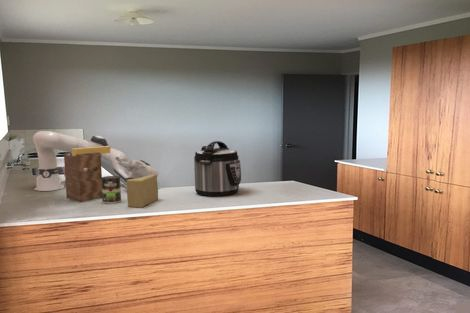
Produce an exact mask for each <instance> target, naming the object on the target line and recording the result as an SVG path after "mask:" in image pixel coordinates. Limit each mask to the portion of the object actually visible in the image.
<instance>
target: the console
mask: <svg viewBox="0 0 470 313" xmlns="http://www.w3.org/2000/svg"><path fill="white" fill-rule="evenodd" d="M63 162H64V164H63V165H64V166H65V176H64V178H65V179H64V180H65V194H66V199H68V198H69V200H71V201H76V202H78V201H79V203H83V202H89V201H94V200H95V201H96V200H99V199H100V200H101V199H102V179H101V178H102V177H103V176H102V175H103V172H102V171H103V170H102V159H101V154H100V153H88V154H76V156H72V153H71V152H64V154H63Z"/></svg>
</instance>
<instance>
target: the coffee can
mask: <svg viewBox="0 0 470 313" xmlns="http://www.w3.org/2000/svg"><path fill="white" fill-rule="evenodd" d="M101 179H102V198H101V199H102V203H103V204H117V203H121V202H122V193H121V189H122V188H121V177H120V176H119V175H106V176H102V178H101Z"/></svg>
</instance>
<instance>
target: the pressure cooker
mask: <svg viewBox="0 0 470 313" xmlns="http://www.w3.org/2000/svg"><path fill="white" fill-rule="evenodd" d="M216 144H217V145H218V147H215V146H216ZM200 149H201V150H199V151H195V152H194V153H195V154H194V159H193V165H194V169H193V170H194V188H195V192H196V194H198V195H199V196H200V195H201V196H205V197H206V196H207V197H221V196H222V197H223V196H231V195H234V194H237V193H238V192H239V188H240V184H241V183H242V169H241V160H240V159H239V155H238V151H237V150H233V149H230V148H229V147H228V145H226V144H225V143H224V142H222V141H219V140H215V141H212V142H210V143H209V144H208V145H207V146H206V145H203V146H201V148H200Z"/></svg>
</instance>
